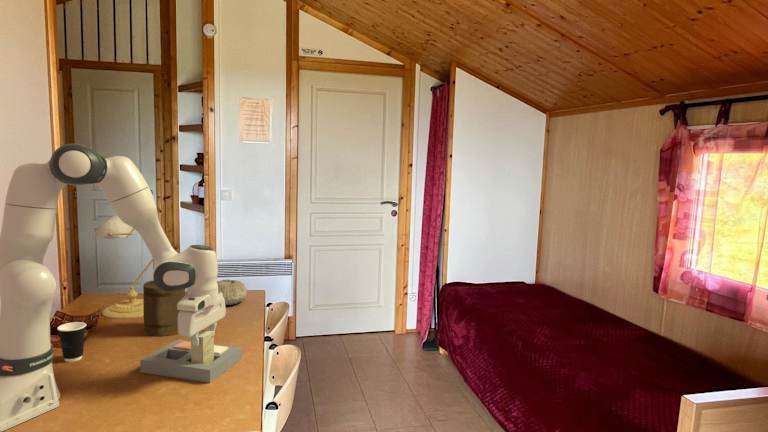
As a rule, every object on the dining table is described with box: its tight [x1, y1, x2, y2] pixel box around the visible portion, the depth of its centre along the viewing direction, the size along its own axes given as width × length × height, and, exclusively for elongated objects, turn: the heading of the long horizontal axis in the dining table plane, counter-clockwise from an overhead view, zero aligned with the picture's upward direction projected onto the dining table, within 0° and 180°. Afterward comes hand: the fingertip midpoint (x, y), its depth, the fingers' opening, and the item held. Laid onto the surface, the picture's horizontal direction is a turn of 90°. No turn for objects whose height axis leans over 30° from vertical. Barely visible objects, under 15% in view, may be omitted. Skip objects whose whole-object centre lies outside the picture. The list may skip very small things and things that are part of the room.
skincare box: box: [190, 329, 215, 365], centre depth 152 cm, size 6×4×12 cm
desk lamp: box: [92, 214, 153, 320], centre depth 206 cm, size 31×23×40 cm
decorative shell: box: [217, 279, 248, 306], centre depth 222 cm, size 18×18×10 cm
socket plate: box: [139, 338, 242, 384], centre depth 156 cm, size 18×24×4 cm
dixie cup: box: [56, 321, 87, 363], centre depth 158 cm, size 8×8×11 cm
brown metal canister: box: [142, 279, 186, 337], centre depth 186 cm, size 15×15×22 cm
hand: (204, 340), depth 152 cm, fingers closed on skincare box, 6 cm apart
